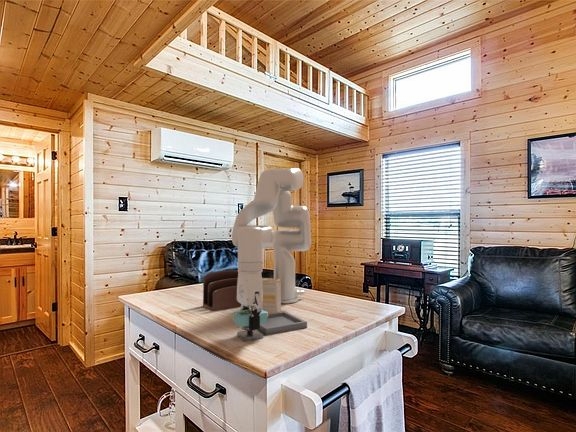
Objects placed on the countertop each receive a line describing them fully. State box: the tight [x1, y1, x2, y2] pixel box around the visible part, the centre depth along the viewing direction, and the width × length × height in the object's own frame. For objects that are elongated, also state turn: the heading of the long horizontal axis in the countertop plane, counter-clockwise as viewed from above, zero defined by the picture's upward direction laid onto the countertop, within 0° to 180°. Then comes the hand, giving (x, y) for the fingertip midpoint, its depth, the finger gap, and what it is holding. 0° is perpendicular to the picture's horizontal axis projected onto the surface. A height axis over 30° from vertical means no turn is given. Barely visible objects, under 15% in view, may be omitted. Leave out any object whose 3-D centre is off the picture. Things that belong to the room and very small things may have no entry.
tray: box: [257, 311, 308, 336], centre depth 112 cm, size 15×15×2 cm
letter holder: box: [202, 269, 256, 312], centre depth 140 cm, size 10×20×14 cm, turn 128°
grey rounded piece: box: [236, 308, 264, 342], centre depth 100 cm, size 6×6×8 cm
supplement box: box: [262, 277, 282, 314], centre depth 127 cm, size 8×5×13 cm, turn 71°
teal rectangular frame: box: [232, 310, 268, 328], centre depth 101 cm, size 10×6×3 cm, turn 120°
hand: (250, 325), depth 100 cm, fingers closed on teal rectangular frame, 5 cm apart
